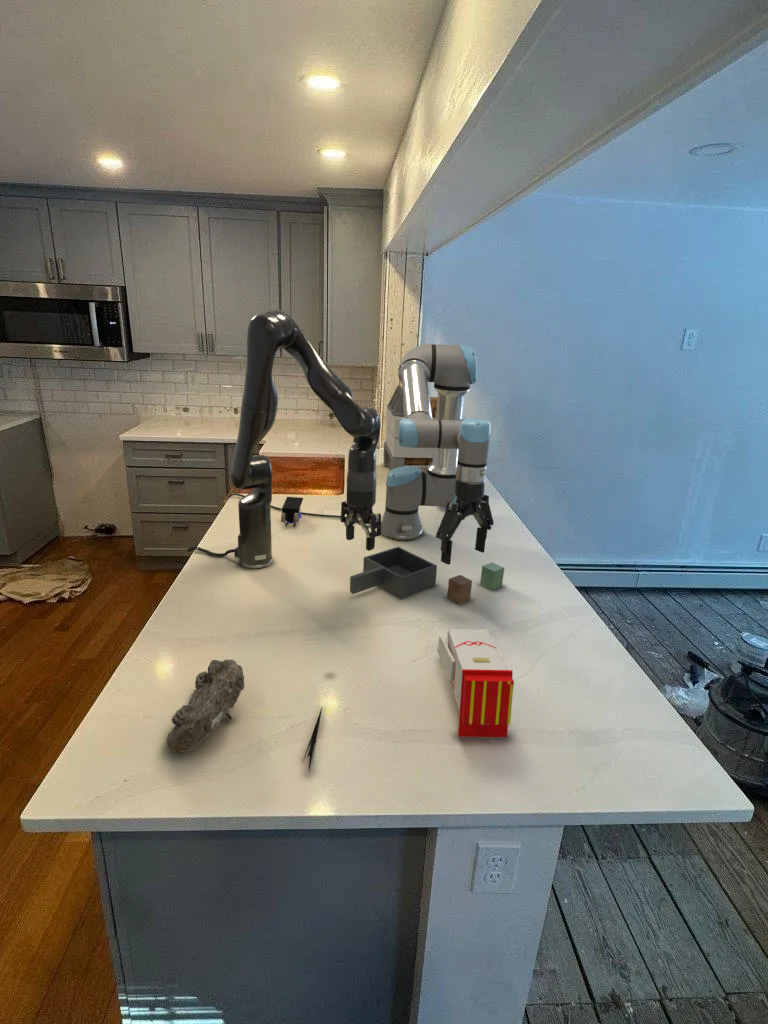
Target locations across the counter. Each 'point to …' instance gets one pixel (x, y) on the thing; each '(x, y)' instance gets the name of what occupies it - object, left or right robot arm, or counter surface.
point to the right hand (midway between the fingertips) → (463, 556)
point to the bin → (395, 573)
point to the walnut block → (459, 589)
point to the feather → (313, 740)
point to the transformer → (392, 449)
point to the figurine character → (291, 510)
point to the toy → (478, 682)
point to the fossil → (206, 705)
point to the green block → (492, 576)
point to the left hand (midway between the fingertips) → (359, 544)
